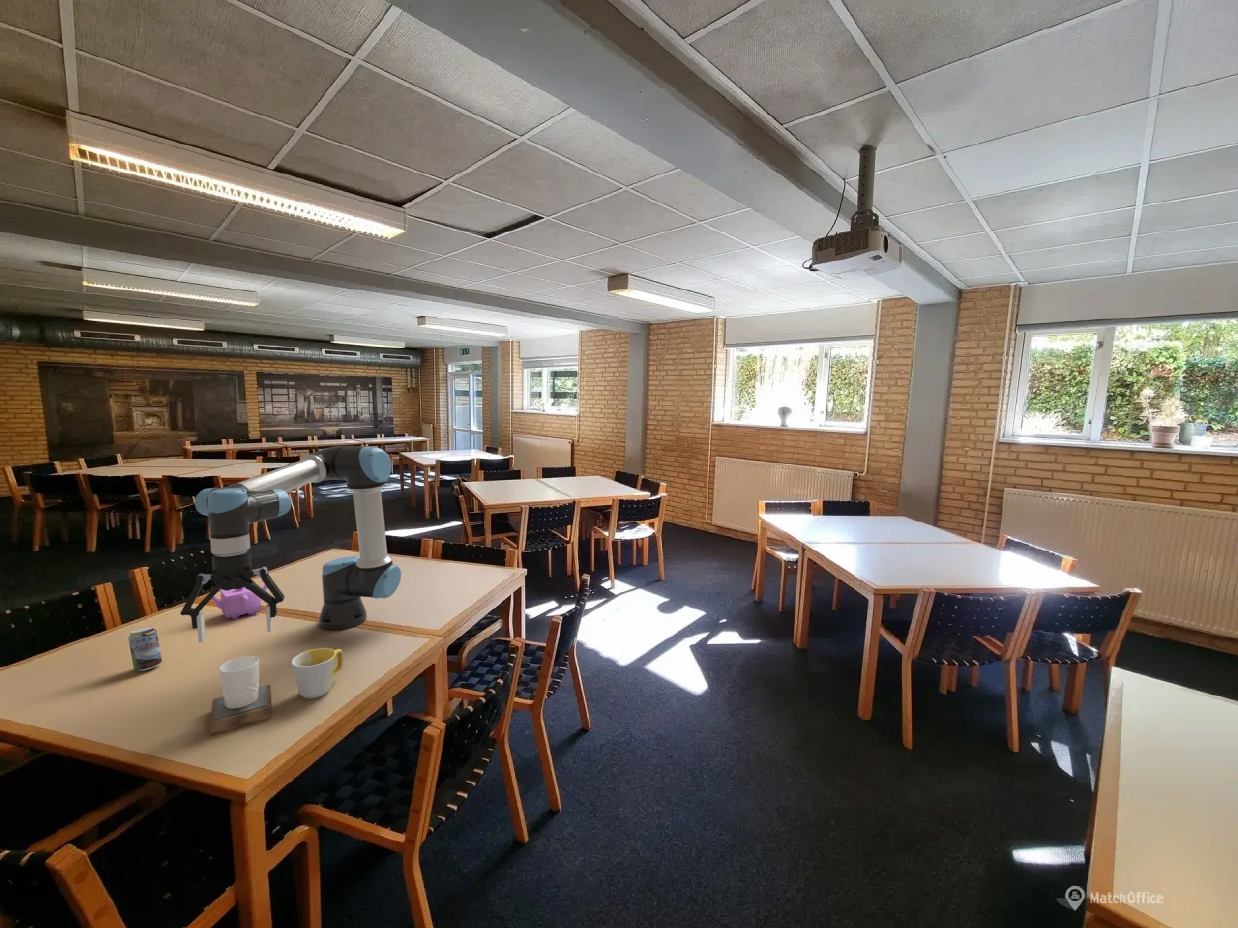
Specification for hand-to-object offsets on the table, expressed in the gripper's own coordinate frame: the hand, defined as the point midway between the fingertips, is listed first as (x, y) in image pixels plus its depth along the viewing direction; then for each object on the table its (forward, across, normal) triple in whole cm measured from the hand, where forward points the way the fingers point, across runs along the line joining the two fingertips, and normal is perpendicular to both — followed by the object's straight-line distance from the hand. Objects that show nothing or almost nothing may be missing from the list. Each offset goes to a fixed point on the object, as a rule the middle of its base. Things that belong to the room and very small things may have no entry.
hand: (237, 634), depth 123 cm
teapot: (+21, +13, -72) cm, 76 cm away
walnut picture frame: (+21, 0, +1) cm, 21 cm away
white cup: (+18, 0, +1) cm, 18 cm away
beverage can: (+21, +30, -37) cm, 52 cm away
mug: (+21, -17, -3) cm, 27 cm away
